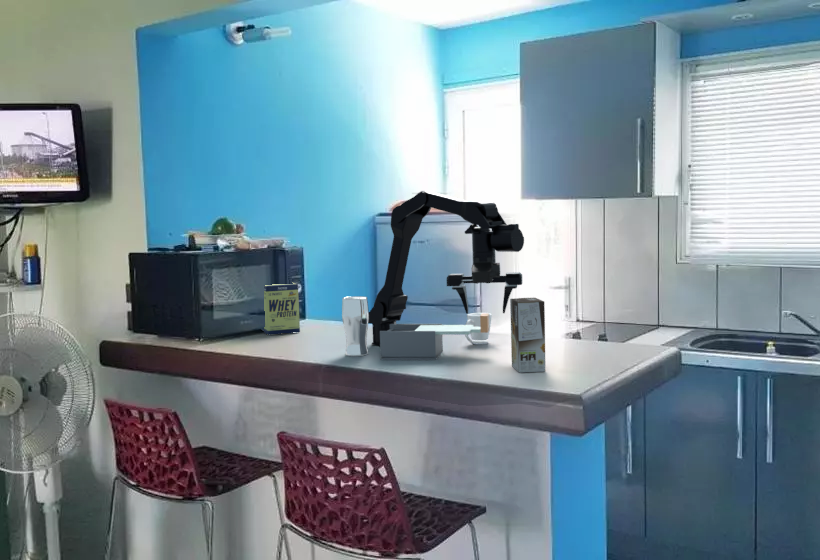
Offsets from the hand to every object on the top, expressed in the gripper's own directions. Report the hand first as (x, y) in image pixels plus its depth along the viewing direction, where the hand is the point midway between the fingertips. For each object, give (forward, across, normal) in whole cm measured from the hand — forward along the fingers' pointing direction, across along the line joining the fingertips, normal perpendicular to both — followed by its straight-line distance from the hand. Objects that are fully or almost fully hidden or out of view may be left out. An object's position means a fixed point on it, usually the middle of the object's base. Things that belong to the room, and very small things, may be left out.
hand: (485, 313), depth 202 cm
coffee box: (+11, +11, -17) cm, 23 cm away
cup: (+11, -4, +18) cm, 22 cm away
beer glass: (+11, -34, +1) cm, 36 cm away
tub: (+11, -19, 0) cm, 22 cm away
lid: (+5, -9, 0) cm, 10 cm away
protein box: (+11, -70, +43) cm, 83 cm away
